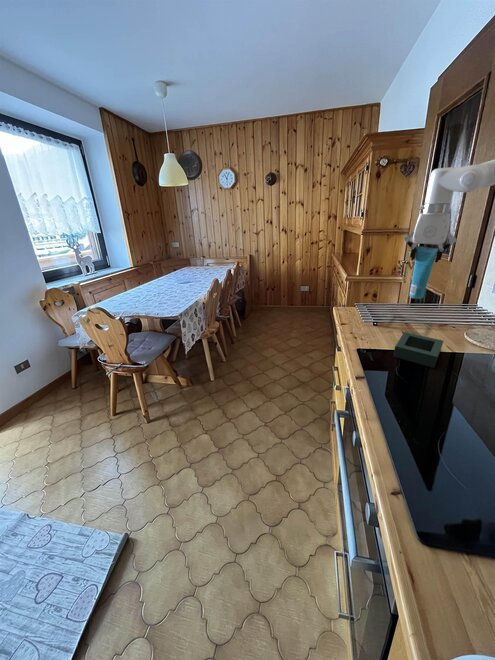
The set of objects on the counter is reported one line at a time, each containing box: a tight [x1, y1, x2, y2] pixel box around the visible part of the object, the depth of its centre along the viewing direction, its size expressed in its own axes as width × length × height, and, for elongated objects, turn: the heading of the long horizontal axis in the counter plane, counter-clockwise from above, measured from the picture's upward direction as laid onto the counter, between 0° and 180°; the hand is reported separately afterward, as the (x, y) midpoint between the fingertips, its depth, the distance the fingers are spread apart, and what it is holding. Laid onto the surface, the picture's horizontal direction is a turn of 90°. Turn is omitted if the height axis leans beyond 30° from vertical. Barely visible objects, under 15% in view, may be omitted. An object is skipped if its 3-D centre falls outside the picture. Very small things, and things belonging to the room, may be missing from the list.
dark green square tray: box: [392, 331, 444, 369], centre depth 98 cm, size 12×12×5 cm
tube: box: [408, 245, 439, 300], centre depth 107 cm, size 7×5×19 cm, turn 40°
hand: (424, 260), depth 105 cm, fingers closed on tube, 7 cm apart
